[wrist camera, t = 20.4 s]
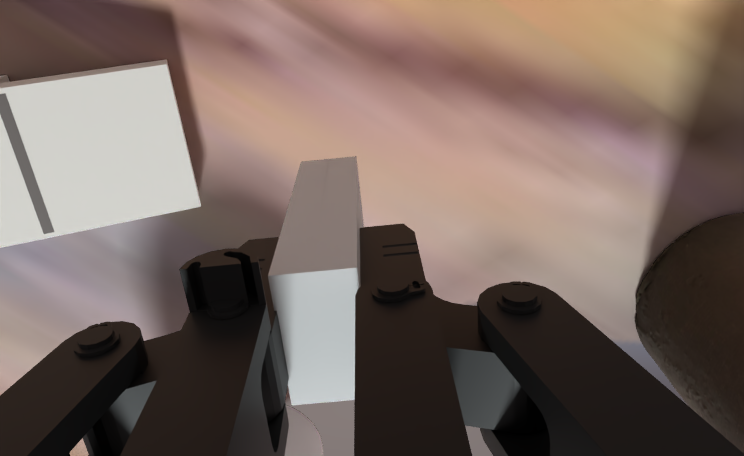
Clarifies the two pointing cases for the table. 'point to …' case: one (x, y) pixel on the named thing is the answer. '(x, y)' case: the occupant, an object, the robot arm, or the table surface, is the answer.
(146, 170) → the domino
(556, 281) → the table surface
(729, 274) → the pillar candle
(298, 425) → the cup
